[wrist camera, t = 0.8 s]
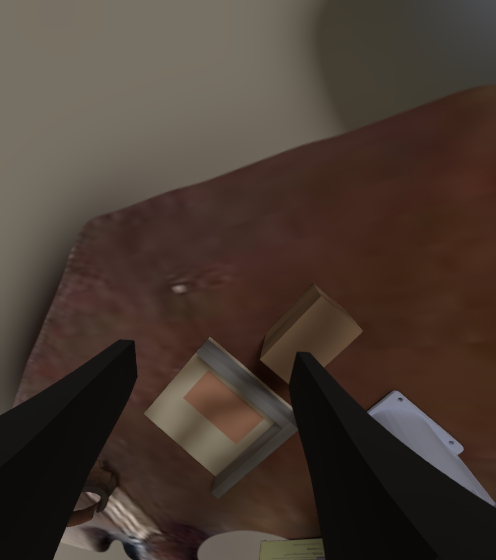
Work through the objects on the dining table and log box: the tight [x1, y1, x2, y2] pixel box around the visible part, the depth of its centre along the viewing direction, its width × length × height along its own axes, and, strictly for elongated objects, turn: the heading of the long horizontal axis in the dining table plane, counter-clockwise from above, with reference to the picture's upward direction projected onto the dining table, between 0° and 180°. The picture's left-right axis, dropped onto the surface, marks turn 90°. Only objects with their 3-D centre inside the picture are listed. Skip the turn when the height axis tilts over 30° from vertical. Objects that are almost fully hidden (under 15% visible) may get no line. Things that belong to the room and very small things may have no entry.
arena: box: [144, 337, 298, 499], centre depth 28 cm, size 14×15×3 cm
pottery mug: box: [67, 460, 117, 527], centre depth 33 cm, size 12×9×8 cm
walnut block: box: [260, 283, 363, 384], centre depth 23 cm, size 4×8×6 cm, turn 141°
